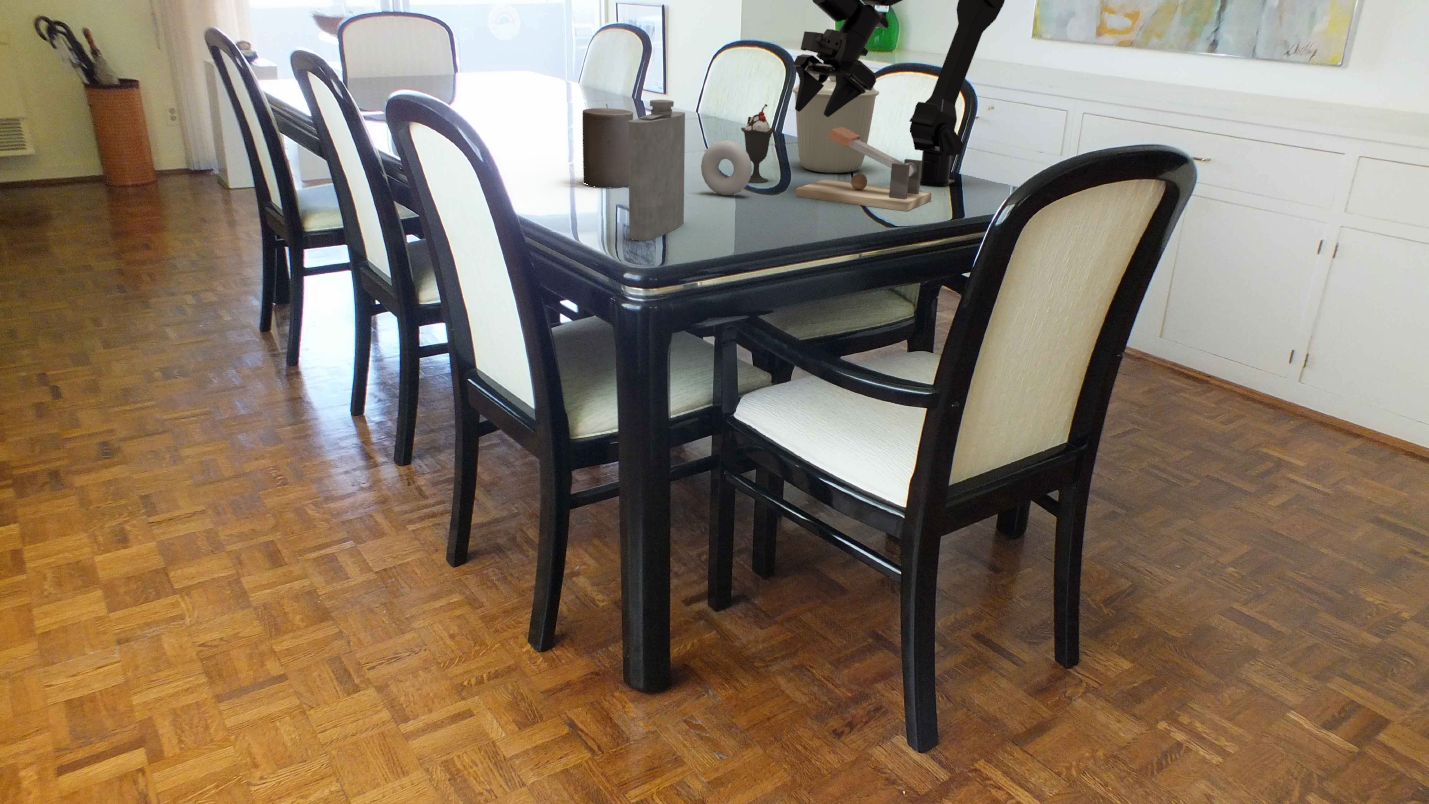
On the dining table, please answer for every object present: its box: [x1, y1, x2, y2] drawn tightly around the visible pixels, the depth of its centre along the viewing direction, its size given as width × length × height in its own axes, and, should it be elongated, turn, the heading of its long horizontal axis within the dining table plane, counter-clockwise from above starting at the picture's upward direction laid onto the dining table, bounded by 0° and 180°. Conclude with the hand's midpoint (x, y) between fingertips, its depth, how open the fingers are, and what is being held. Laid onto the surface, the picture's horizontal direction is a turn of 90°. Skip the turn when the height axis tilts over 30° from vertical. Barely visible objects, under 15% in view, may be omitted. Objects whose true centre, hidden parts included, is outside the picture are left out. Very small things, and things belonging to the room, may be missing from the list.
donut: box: [700, 139, 753, 196], centre depth 191 cm, size 10×4×10 cm, turn 65°
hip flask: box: [628, 99, 686, 242], centre depth 160 cm, size 16×4×20 cm, turn 158°
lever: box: [828, 127, 917, 177], centre depth 189 cm, size 5×17×2 cm, turn 59°
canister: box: [791, 76, 880, 174], centre depth 218 cm, size 18×18×21 cm
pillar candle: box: [582, 103, 634, 189], centre depth 198 cm, size 10×10×15 cm
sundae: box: [740, 103, 776, 184], centre depth 205 cm, size 7×7×15 cm
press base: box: [795, 158, 932, 212], centre depth 191 cm, size 12×22×8 cm, turn 59°
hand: (811, 113), depth 189 cm, fingers open, 9 cm apart
